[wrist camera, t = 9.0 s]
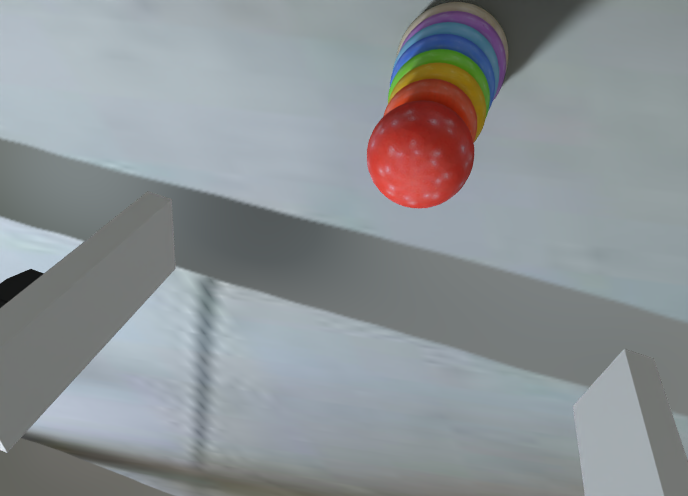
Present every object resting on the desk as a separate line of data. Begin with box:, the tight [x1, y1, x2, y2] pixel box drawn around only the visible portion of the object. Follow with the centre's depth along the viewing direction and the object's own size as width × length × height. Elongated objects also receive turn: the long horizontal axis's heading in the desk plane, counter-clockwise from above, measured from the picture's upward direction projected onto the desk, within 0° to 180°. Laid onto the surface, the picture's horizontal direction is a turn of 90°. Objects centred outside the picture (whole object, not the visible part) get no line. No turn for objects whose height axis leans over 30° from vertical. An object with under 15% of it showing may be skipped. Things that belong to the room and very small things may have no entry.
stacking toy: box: [367, 2, 509, 208], centre depth 27 cm, size 8×8×19 cm
